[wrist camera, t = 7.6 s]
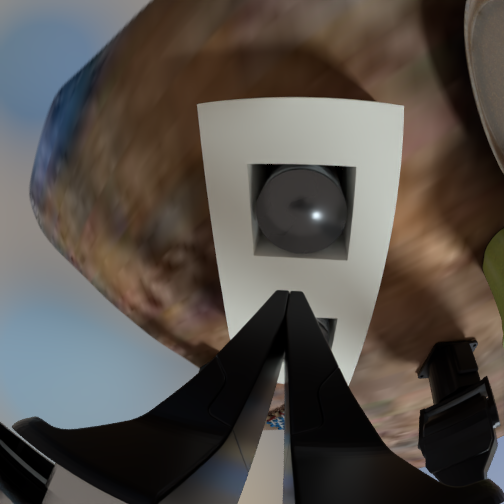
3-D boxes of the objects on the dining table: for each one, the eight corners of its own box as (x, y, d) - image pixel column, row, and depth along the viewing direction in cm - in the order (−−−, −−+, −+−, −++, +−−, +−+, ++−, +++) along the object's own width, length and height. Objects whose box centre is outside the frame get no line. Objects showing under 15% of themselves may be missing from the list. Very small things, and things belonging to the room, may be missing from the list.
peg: (336, 214, 20) (342, 255, 15) (271, 211, 21) (258, 251, 16) (339, 150, 18) (350, 172, 13) (268, 148, 18) (253, 169, 14)
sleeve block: (346, 337, 27) (348, 387, 22) (250, 331, 29) (237, 378, 24) (376, 101, 15) (403, 106, 10) (229, 99, 17) (197, 104, 12)
